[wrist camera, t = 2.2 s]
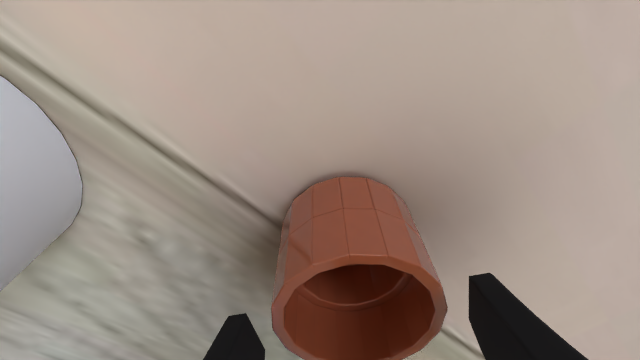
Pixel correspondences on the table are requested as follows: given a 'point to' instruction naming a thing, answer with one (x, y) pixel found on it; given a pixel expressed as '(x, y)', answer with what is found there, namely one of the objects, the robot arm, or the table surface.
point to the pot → (354, 276)
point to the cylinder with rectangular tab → (32, 182)
